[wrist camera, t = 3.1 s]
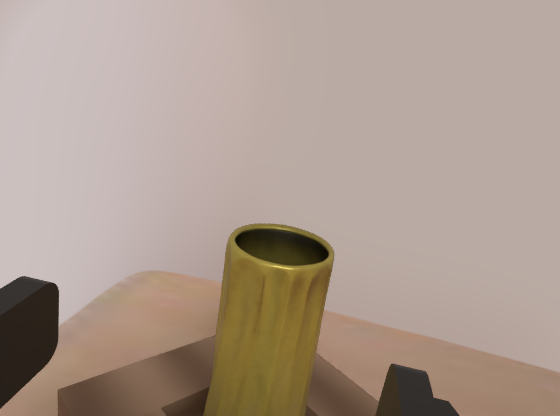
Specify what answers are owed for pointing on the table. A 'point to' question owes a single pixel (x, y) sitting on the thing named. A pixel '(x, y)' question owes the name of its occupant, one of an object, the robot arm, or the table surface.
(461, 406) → the table surface
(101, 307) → the table surface
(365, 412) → the socket stand
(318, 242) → the vase
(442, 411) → the robot arm
